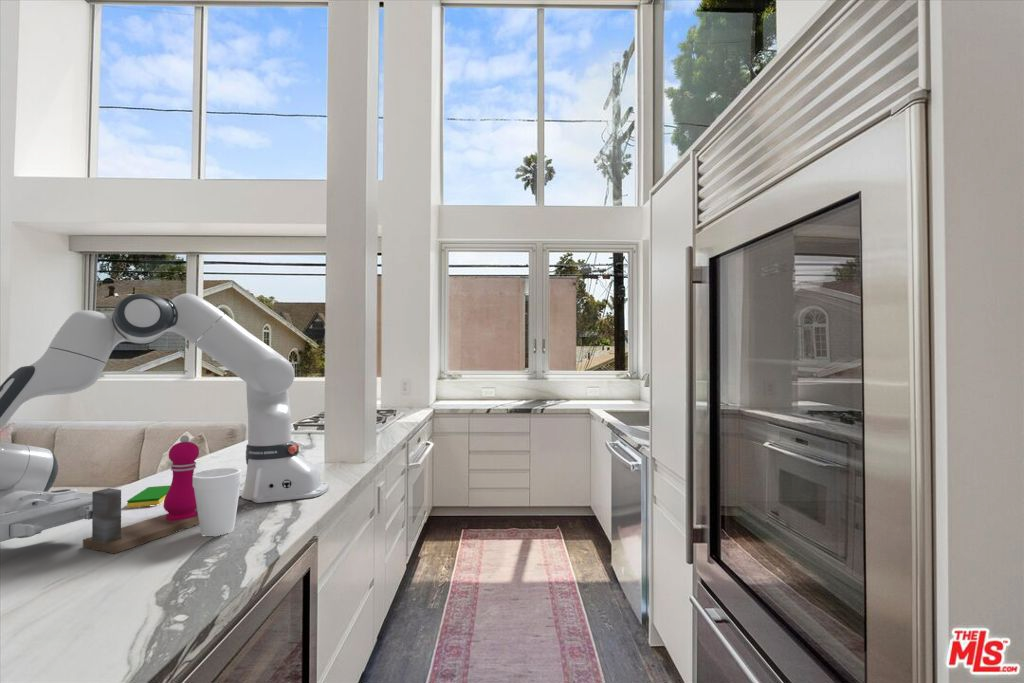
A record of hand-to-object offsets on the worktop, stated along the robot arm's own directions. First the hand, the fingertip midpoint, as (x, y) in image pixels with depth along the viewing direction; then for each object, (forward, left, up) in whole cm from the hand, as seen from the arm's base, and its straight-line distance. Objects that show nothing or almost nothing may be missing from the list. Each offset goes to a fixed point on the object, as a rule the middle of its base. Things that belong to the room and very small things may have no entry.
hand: (66, 521), depth 99 cm
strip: (-11, -15, -7) cm, 20 cm away
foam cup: (-24, -10, -7) cm, 26 cm away
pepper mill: (-13, -18, -7) cm, 23 cm away
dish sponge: (+4, -40, -8) cm, 41 cm away
